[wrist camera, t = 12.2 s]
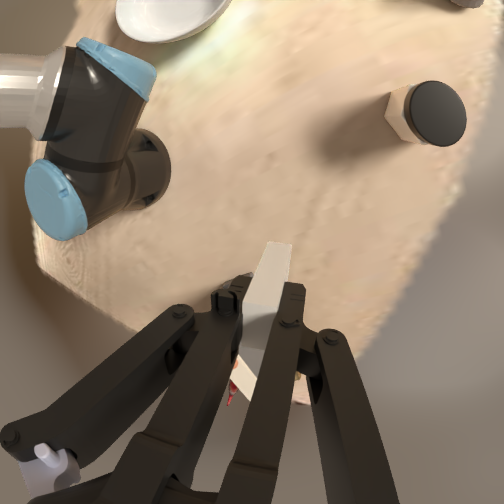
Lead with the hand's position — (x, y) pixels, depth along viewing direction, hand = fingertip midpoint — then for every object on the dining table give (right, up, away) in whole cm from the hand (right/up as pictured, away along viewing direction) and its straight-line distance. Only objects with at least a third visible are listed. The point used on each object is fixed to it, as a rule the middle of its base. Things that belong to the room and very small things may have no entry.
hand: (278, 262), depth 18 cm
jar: (+22, +22, +16) cm, 35 cm away
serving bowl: (-13, +44, +15) cm, 48 cm away
